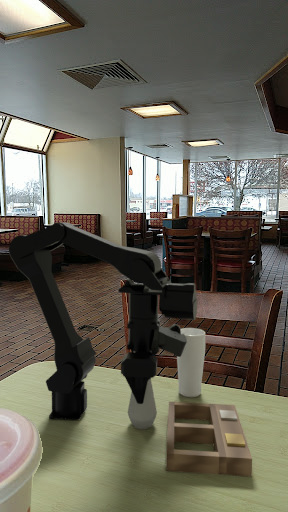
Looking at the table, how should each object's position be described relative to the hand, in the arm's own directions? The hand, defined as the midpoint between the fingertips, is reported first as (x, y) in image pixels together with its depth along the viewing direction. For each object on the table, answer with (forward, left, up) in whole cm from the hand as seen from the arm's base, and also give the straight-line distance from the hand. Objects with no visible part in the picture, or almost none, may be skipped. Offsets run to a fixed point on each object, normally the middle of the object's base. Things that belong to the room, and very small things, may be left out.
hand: (142, 392), depth 75 cm
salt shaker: (0, 0, -7) cm, 7 cm away
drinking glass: (+10, +15, -7) cm, 19 cm away
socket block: (+12, -5, -6) cm, 15 cm away
